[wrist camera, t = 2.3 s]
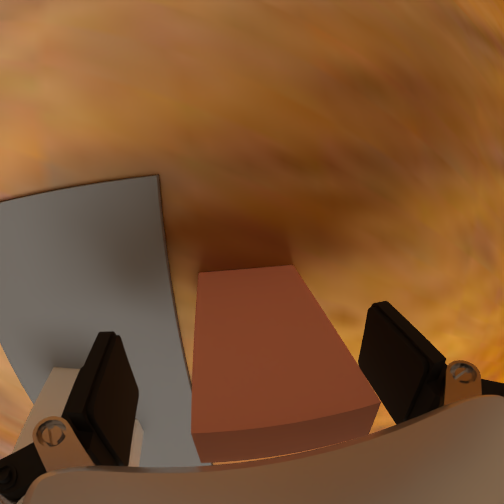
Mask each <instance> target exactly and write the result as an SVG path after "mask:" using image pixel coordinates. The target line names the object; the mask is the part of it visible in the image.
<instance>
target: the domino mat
mask: <svg viewBox="0 0 504 504" xmlns="http://www.w3.org/2000/svg"><path fill="white" fill-rule="evenodd" d="M106 331H114V332H115V333H116V335H120V337H121V339H122V342H123V345H124V349H125V352H126V355H127V358H128V361H129V364H130V367H131V369H132V372H133V375H134V378H135V381H136V383H137V386H138V389H139V399H138V405H137V410H136V417H135V419H138V421H139V423H140V425H141V427H142V429H143V431H144V433H143V440H142V447H141V454H140V462H139V467H192V466H210V465H213V464H212V463H201V461H200V459H199V456H198V453H197V450H196V447H195V444H194V441H193V438H192V435H191V403H192V386H191V381H190V377H189V372H188V368H187V363H186V358H185V354H184V349H183V344H182V339H181V334H180V329H179V323H178V318H177V312H176V306H175V301H174V295H173V289H172V282H171V276H170V269H169V262H168V255H167V248H166V240H165V232H164V223H163V215H162V205H161V195H160V184H159V175H152V176H143V177H135V178H127V179H120V180H113V181H106V182H99V183H93V184H87V185H81V186H75V187H69V188H64V189H59V190H53V191H48V192H43V193H38V194H34V195H29V196H24V197H20V198H15V199H11V200H7V201H3V202H0V343H1V346H2V348H3V350H4V352H5V354H6V356H7V358H8V360H9V362H10V364H11V366H12V368H13V370H14V371H15V373H16V375H17V377H18V379H19V380H20V382H21V384H22V386H23V387H24V389H25V391H26V393H27V394H28V396H29V398H30V399H31V401H32V402H33V404H35V402H36V400H37V398H38V396H39V394H40V392H41V390H42V388H43V386H44V384H45V382H46V380H47V379H48V377H49V375H50V373H51V371H52V369H53V368H54V367H58V368H72V369H81V367H83V366H84V364H85V362H86V359H87V357H88V355H89V352H90V350H91V348H92V346H93V344H94V341H95V339H96V337H97V335H98V333H99V332H106Z"/></svg>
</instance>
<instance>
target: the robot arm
mask: <svg viewBox="0 0 504 504" xmlns="http://www.w3.org/2000/svg"><path fill="white" fill-rule="evenodd" d="M445 361H446V358H445V357H444V356H443V355H442V354H441V353H440V352H439V351H438V350H437V349H436V348H435V347H434V346H433V345H432V344H431V343H430V342H429V341H428V340H427V339H426V338H425V337H424V336H423V335H422V334H421V333H420V332H419V331H418V330H417V329H416V328H415V327H414V326H413V325H412V324H411V323H410V322H409V321H408V320H407V319H406V318H405V317H403V316H402V315H401V314H400V313H399V312H398V311H397V310H396V309H395V308H394V307H393V306H392V305H391V304H390V303H389V302H387V301H383V302H378V303H373V304H372V306H371V307H370V308H369V309H368V312H367V318H366V324H365V330H364V335H363V340H362V345H361V350H360V355H359V360H358V364H359V368H360V369H361V371H362V372H363V374H364V375H365V377H366V378H367V380H368V381H369V383H370V385H371V386H372V388H373V389H374V391H375V392H376V394H377V395H378V397H379V398H380V400H381V401H382V403H383V404H384V406H385V408H386V409H387V411H388V412H389V414H390V415H391V417H392V418H393V420H394V421H395V423H396V424H397V425H395V426H392V427H389V428H386V429H384V430H381V431H378V432H375V433H372V434H369V435H366V436H363V437H359V438H356V439H353V440H349V441H346V442H342V443H339V444H335V445H331V446H327V447H323V448H319V449H315V450H311V451H306V452H302V453H297V454H292V455H287V456H281V457H276V458H270V459H263V460H256V461H249V462H241V463H232V464H222V465H210V466H192V467H129V466H128V465H129V458H130V451H131V443H132V436H133V429H134V423H135V417H136V410H137V405H138V399H139V389H138V386H137V383H136V381H135V378H134V375H133V372H132V369H131V367H130V364H129V361H128V358H127V355H126V352H125V349H124V345H123V342H122V339H121V337H120V335H116V333H115V332H114V331H106V332H99V333H98V335H97V337H96V339H95V341H94V344H93V346H92V348H91V350H90V352H89V355H88V357H87V359H86V362H85V364H84V366H83V367H81V369H80V370H79V373H78V375H77V378H76V380H75V382H74V385H73V387H72V390H71V392H70V395H69V397H68V400H67V402H66V405H65V407H64V410H63V413H62V415H61V417H57V416H51V417H47V418H44V419H43V420H41V421H39V422H38V424H37V425H36V426H35V428H34V430H33V434H32V437H33V443H31V444H29V445H27V446H25V447H24V448H22V449H20V450H18V451H16V452H14V453H12V454H10V455H9V456H7V457H5V458H3V459H1V460H0V504H504V383H499V382H494V381H489V380H484V379H481V375H480V372H479V370H478V369H477V367H476V366H474V365H473V364H471V363H470V362H467V361H463V360H457V361H453V362H451V363H450V364H449V365H448V366H447V365H446V364H445Z"/></svg>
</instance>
